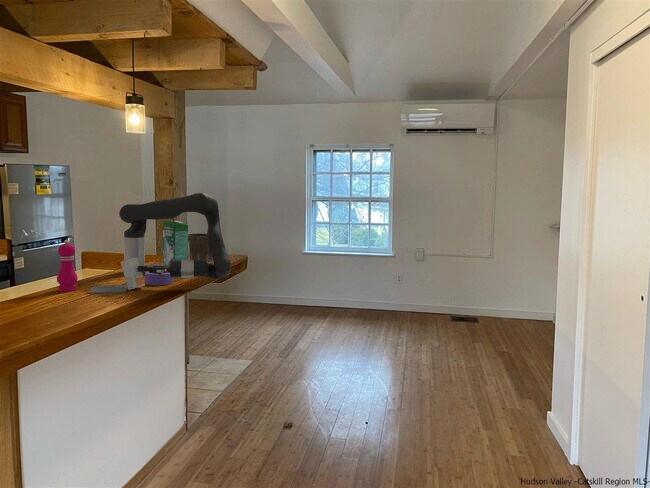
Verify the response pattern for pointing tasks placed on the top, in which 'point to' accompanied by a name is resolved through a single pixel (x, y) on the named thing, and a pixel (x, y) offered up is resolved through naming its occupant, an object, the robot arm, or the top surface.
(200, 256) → the plant pot
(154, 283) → the tape roll
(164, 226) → the milk carton
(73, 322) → the top surface
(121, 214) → the robot arm
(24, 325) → the top surface
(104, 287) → the mat
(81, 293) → the top surface
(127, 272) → the skincare box
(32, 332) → the top surface
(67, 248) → the pepper mill
